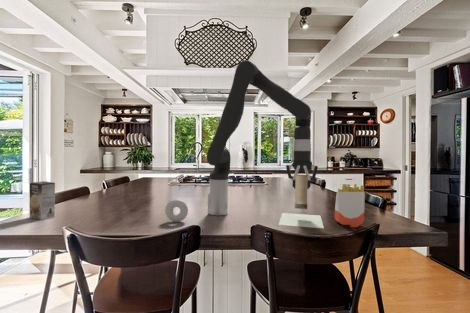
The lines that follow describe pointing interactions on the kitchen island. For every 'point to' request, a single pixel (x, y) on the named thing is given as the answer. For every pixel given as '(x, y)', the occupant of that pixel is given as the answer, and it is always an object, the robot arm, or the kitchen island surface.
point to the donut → (179, 204)
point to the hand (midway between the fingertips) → (301, 188)
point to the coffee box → (42, 200)
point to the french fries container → (350, 205)
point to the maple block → (301, 191)
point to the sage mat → (301, 220)
